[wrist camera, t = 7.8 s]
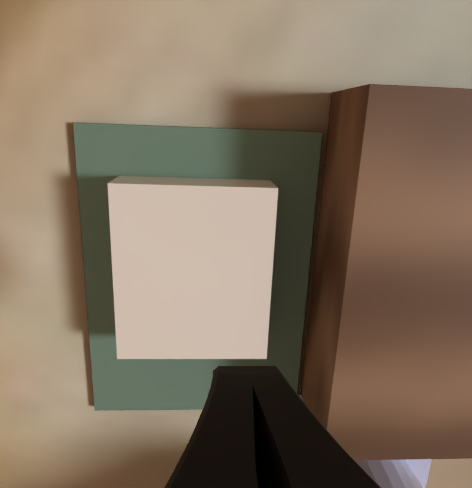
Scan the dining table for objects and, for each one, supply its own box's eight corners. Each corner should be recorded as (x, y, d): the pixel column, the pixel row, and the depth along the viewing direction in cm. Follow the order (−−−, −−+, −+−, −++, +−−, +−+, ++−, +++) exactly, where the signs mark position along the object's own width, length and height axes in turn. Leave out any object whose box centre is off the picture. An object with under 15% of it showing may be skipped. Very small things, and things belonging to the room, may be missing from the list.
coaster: (117, 359, 16) (126, 333, 18) (266, 358, 17) (260, 334, 18) (107, 183, 14) (119, 175, 16) (278, 188, 15) (270, 180, 16)
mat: (294, 404, 20) (295, 408, 20) (96, 406, 19) (94, 410, 19) (320, 132, 16) (322, 132, 16) (75, 122, 16) (72, 122, 15)
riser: (476, 394, 21) (536, 457, 17) (301, 395, 20) (323, 461, 16) (548, 102, 16) (650, 97, 13) (331, 92, 16) (369, 84, 12)
